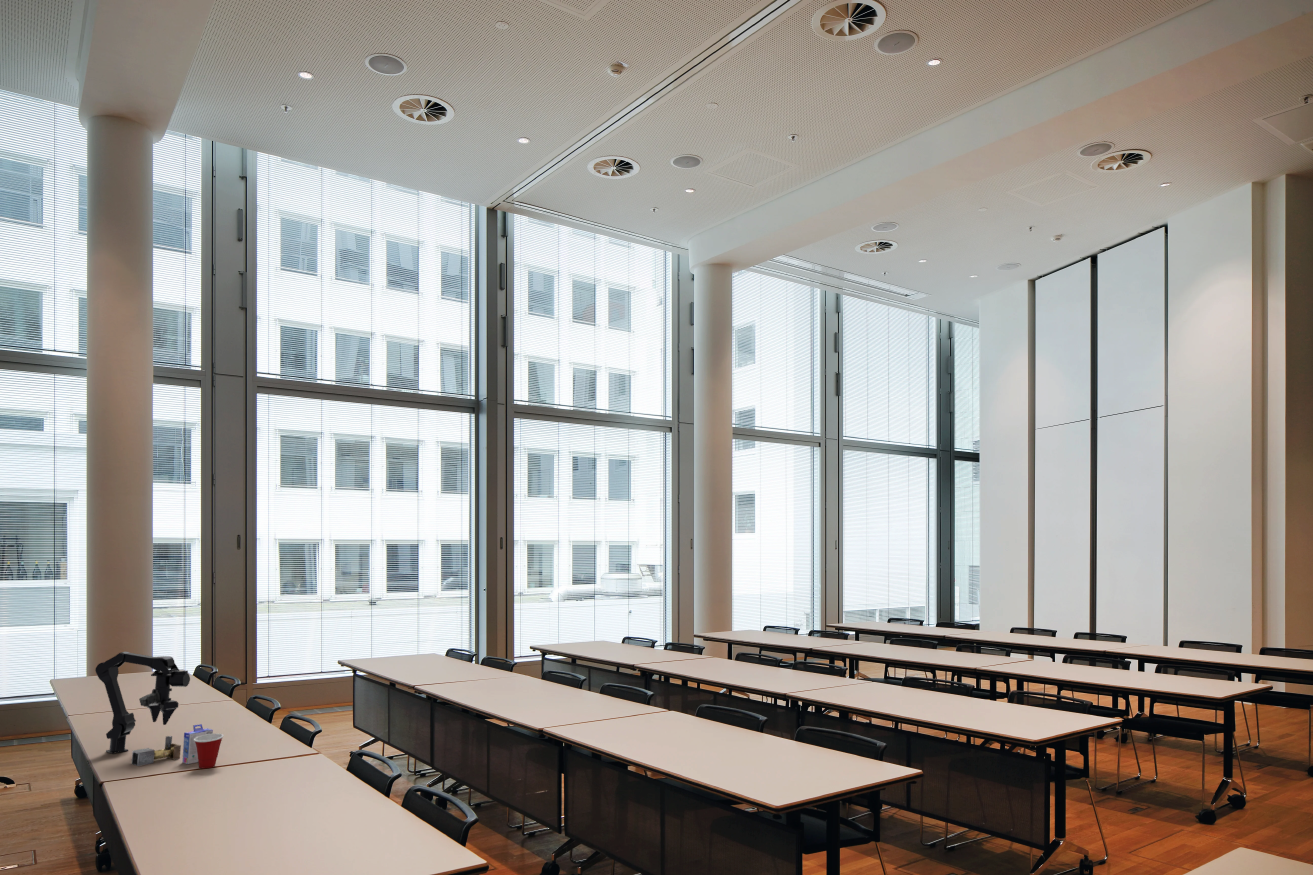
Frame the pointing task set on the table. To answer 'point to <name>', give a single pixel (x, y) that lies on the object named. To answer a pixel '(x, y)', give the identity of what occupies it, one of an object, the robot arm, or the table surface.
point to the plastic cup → (208, 749)
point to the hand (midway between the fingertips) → (159, 723)
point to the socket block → (176, 751)
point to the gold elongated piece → (165, 750)
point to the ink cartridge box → (193, 743)
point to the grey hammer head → (142, 756)
